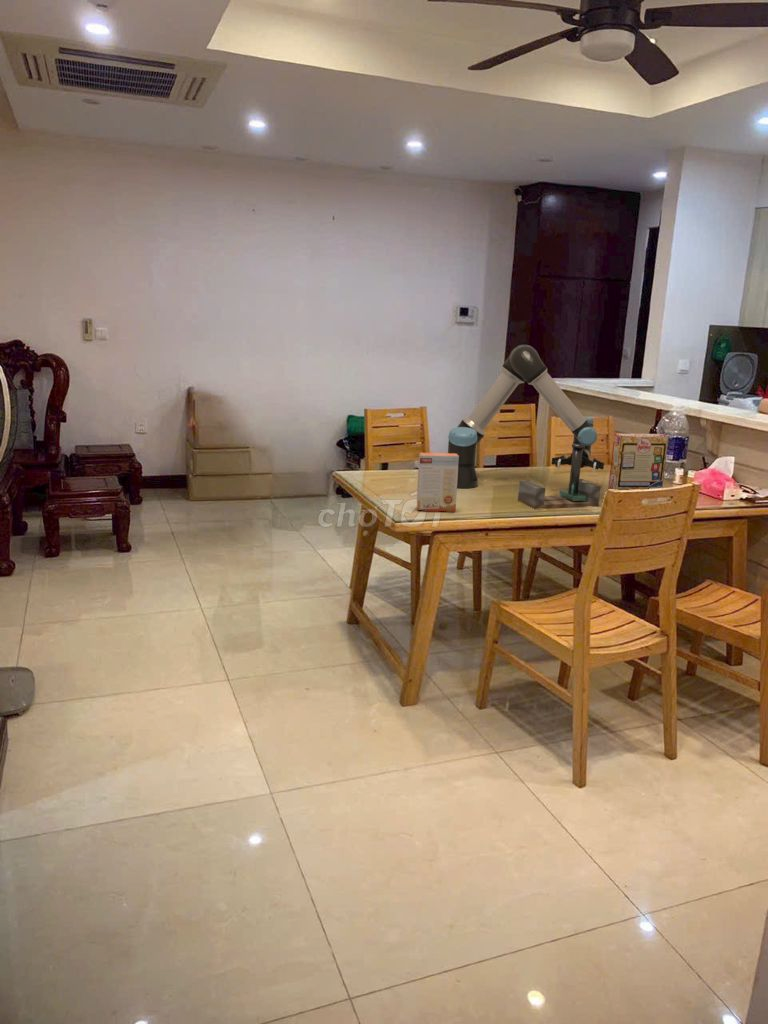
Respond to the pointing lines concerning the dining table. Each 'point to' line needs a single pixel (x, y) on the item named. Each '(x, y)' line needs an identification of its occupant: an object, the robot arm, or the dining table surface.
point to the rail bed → (557, 496)
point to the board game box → (638, 461)
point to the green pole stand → (575, 476)
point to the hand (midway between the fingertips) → (576, 467)
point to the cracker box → (437, 481)
